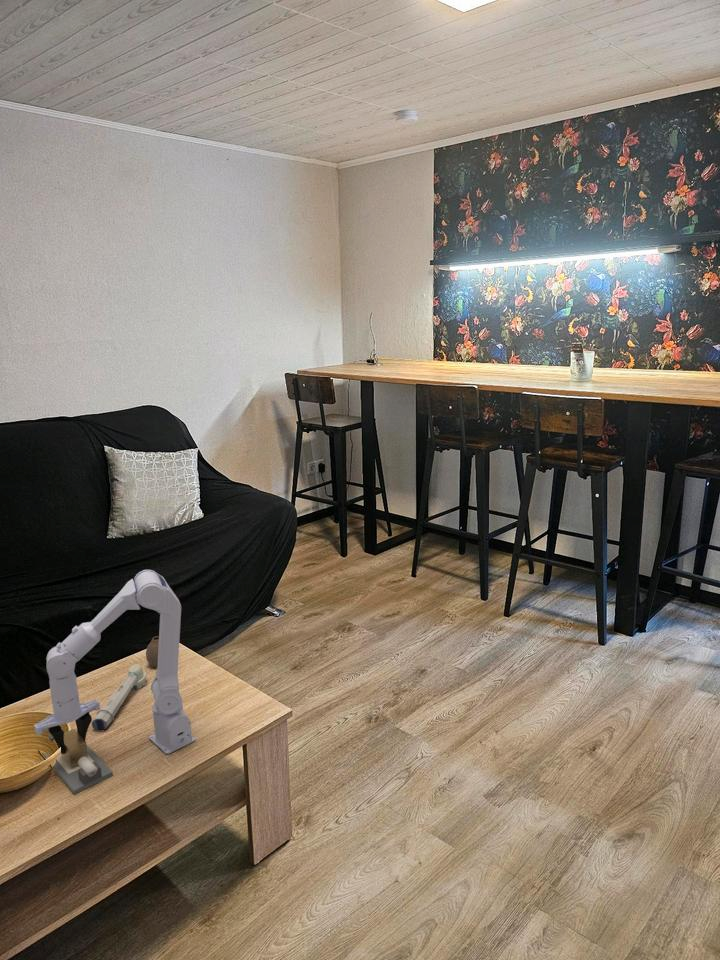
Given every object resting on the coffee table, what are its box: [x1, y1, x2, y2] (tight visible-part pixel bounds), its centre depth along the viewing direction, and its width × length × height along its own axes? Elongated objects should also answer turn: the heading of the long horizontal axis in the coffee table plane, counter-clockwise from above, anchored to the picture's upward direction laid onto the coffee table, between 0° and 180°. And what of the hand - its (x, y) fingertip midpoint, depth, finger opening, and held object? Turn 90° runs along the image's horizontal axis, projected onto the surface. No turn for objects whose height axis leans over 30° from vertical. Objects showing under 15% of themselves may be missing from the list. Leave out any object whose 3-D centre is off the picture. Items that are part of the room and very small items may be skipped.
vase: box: [145, 635, 159, 668], centre depth 204 cm, size 7×7×9 cm
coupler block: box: [60, 728, 88, 768], centre depth 160 cm, size 7×4×5 cm, turn 44°
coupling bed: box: [42, 733, 114, 795], centre depth 160 cm, size 22×9×5 cm, turn 44°
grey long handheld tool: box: [91, 663, 147, 731], centre depth 185 cm, size 5×7×25 cm
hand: (72, 747), depth 160 cm, fingers closed on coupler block, 4 cm apart
